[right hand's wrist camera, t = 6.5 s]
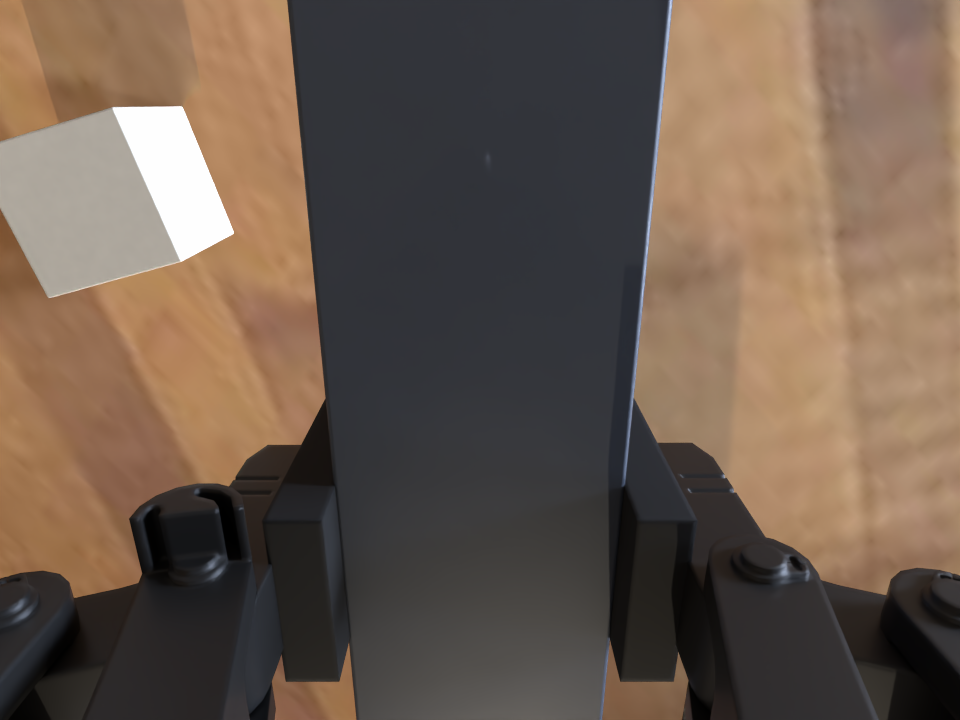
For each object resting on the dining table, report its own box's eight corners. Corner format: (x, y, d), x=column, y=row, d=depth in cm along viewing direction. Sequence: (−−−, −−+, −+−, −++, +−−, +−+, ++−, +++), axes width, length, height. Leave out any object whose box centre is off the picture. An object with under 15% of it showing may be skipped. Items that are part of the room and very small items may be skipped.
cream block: (182, 105, 24) (113, 106, 20) (234, 233, 26) (182, 261, 22) (63, 141, 25) (-32, 150, 20) (122, 264, 27) (47, 298, 22)
